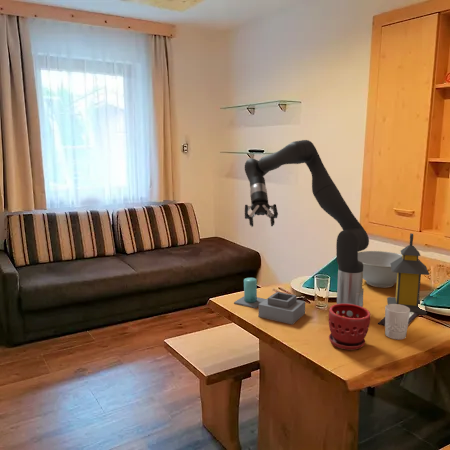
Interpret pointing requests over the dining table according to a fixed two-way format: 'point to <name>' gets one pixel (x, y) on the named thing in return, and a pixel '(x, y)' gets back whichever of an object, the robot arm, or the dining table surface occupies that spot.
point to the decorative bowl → (378, 268)
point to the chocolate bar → (411, 318)
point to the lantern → (408, 278)
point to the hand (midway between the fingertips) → (262, 225)
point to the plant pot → (348, 326)
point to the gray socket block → (282, 308)
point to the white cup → (396, 321)
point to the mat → (253, 305)
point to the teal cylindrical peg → (250, 290)
